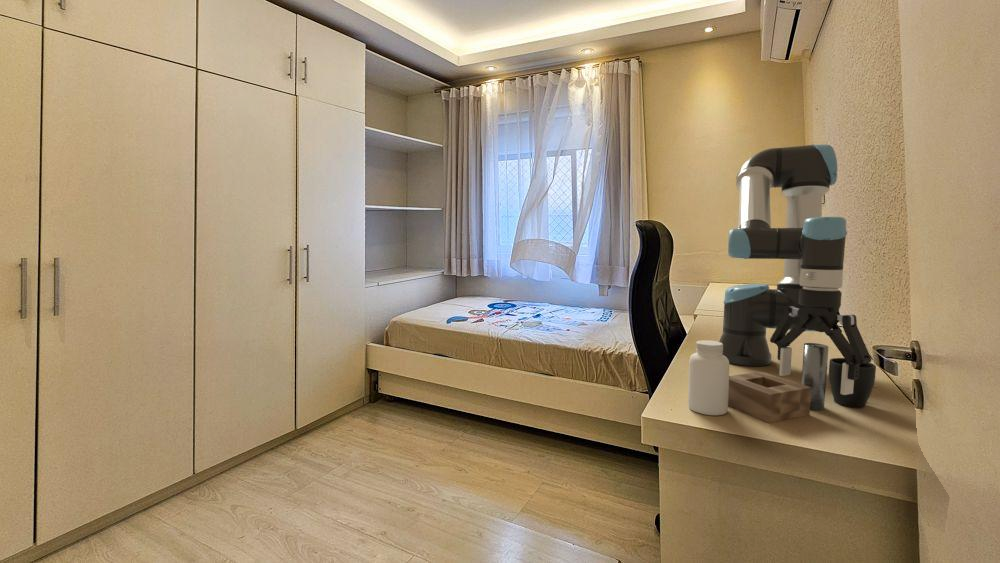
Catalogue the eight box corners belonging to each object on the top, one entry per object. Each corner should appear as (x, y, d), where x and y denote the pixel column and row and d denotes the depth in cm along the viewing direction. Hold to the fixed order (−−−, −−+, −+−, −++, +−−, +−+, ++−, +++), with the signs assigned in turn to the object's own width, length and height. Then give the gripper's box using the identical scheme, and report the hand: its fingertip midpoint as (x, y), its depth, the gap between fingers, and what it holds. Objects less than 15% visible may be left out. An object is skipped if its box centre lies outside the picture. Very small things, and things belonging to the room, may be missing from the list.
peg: (809, 402, 101) (813, 342, 100) (828, 409, 97) (833, 346, 96) (795, 404, 100) (799, 343, 99) (815, 411, 96) (819, 348, 94)
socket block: (759, 396, 105) (760, 371, 105) (809, 414, 94) (811, 387, 94) (720, 402, 101) (721, 377, 101) (768, 423, 90) (770, 394, 89)
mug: (878, 399, 103) (881, 359, 102) (869, 413, 95) (872, 370, 94) (835, 390, 109) (837, 353, 108) (822, 403, 101) (825, 362, 100)
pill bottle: (686, 400, 103) (689, 337, 101) (725, 405, 100) (728, 340, 98) (688, 413, 95) (690, 345, 94) (729, 418, 92) (733, 348, 91)
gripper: (756, 283, 106) (751, 369, 108) (873, 296, 83) (865, 405, 85) (779, 282, 109) (774, 367, 111) (899, 294, 86) (890, 400, 88)
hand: (813, 383), depth 98 cm, fingers open, 13 cm apart
